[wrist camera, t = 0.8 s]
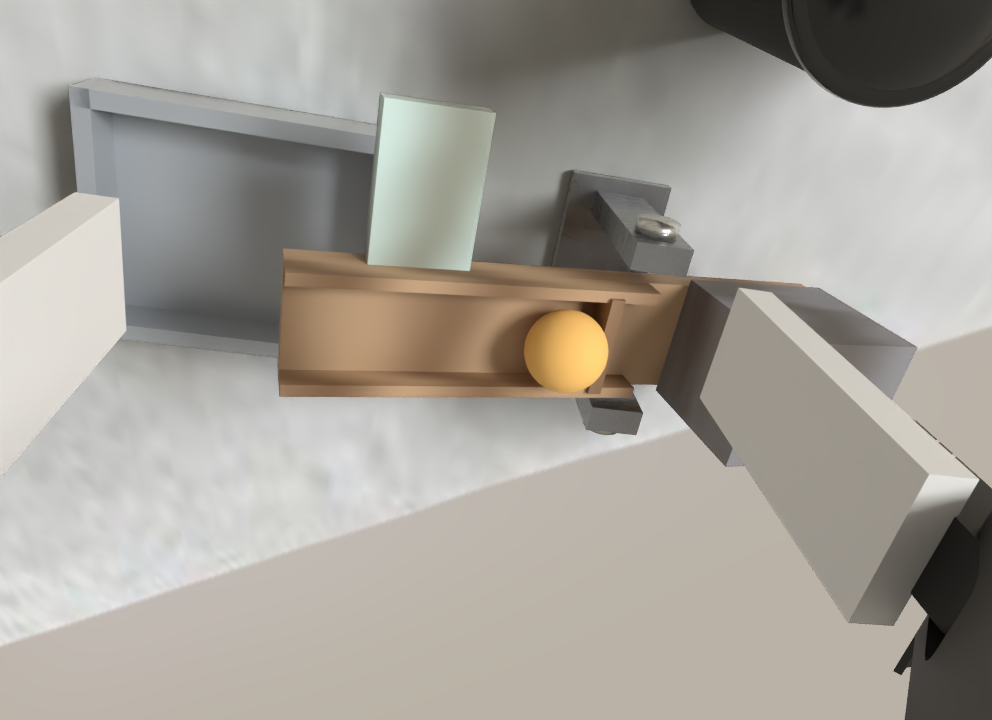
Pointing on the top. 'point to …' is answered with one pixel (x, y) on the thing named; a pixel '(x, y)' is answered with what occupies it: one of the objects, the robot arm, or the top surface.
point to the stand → (618, 257)
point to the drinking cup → (866, 42)
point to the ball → (566, 351)
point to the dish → (217, 204)
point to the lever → (507, 296)
